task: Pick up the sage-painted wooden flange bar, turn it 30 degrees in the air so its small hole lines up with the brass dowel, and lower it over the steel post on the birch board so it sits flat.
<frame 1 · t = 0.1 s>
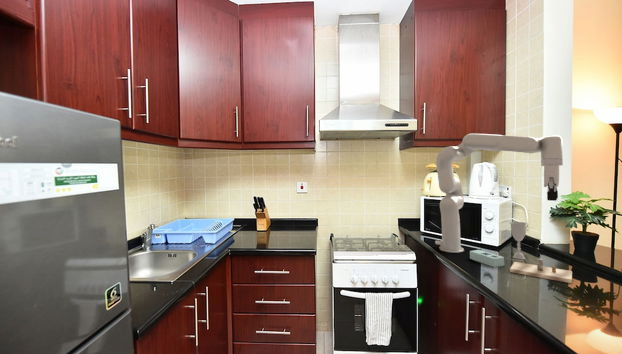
hand: (552, 199, 128), 31 cm above the worktop, tool pointing down, fingers open, 9 cm apart
flange bar: (486, 261, 137), on the worktop
chalice: (519, 258, 141), on the worktop
post board: (540, 273, 120), on the worktop
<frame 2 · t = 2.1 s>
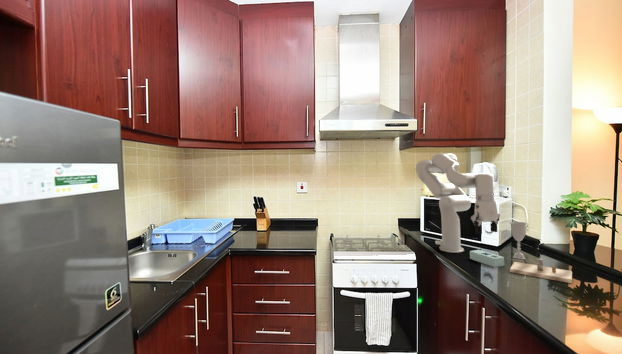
hand: (486, 232, 136), 15 cm above the worktop, tool pointing down, fingers open, 9 cm apart
nothing on the worktop moved.
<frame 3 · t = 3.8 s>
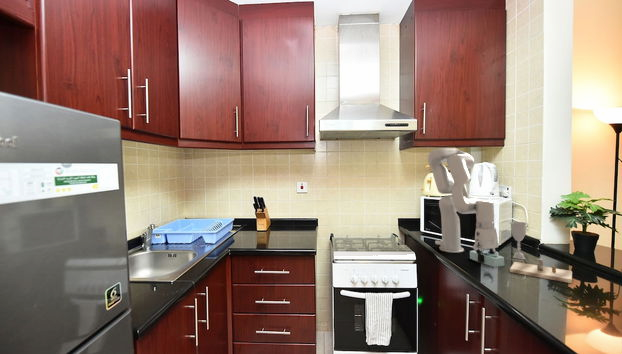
hand: (486, 260, 137), 1 cm above the worktop, tool pointing down, fingers closed on flange bar, 6 cm apart
flange bar: (486, 261, 137), on the worktop, touching gripper
everything else where it was.
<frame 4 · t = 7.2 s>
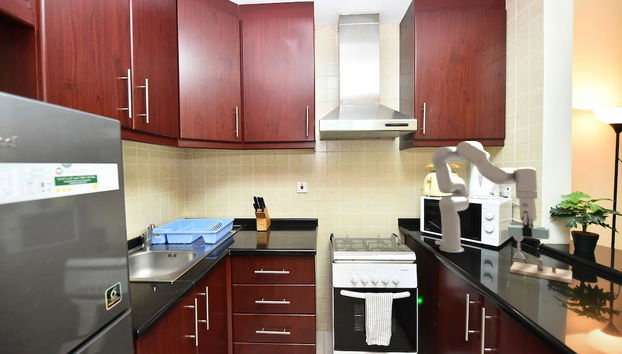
hand: (528, 234, 123), 16 cm above the worktop, tool pointing down, fingers closed on flange bar, 6 cm apart
flange bar: (528, 236, 123), point 16 cm above the worktop, touching gripper
everything else where it was.
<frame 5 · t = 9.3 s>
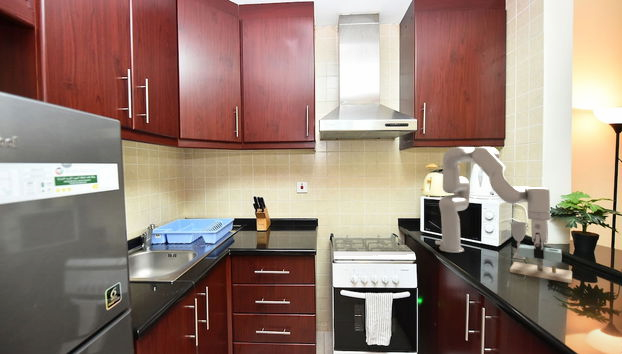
hand: (539, 256, 120), 7 cm above the worktop, tool pointing down, fingers closed on flange bar, 6 cm apart
flange bar: (539, 257, 120), point 7 cm above the worktop, touching gripper
everything else where it was.
when the fingers open (3 cm above the worktop, at t = 10.8 s): flange bar stays where it is, resting on post board.
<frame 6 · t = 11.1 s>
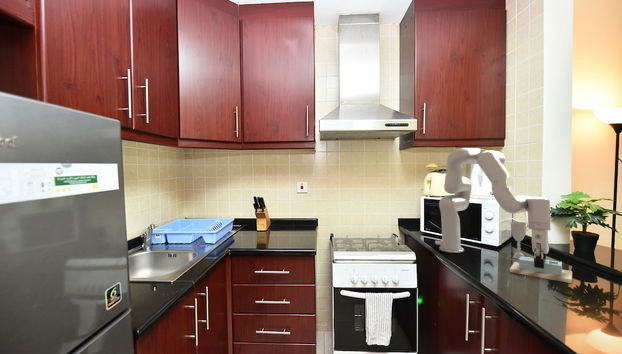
hand: (540, 264, 120), 4 cm above the worktop, tool pointing down, fingers open, 9 cm apart
flange bar: (540, 269, 120), point 1 cm above the worktop, touching post board
everything else where it was.
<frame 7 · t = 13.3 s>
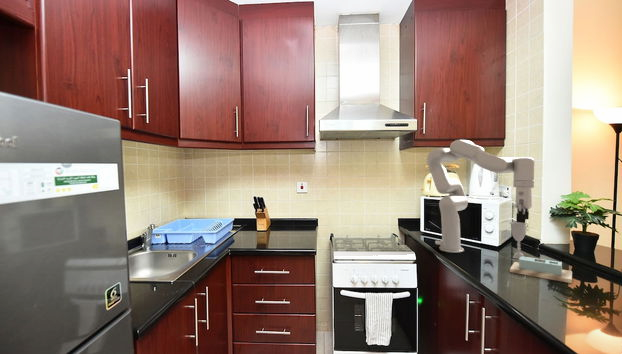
hand: (522, 220, 128), 22 cm above the worktop, tool pointing down, fingers open, 9 cm apart
nothing on the worktop moved.
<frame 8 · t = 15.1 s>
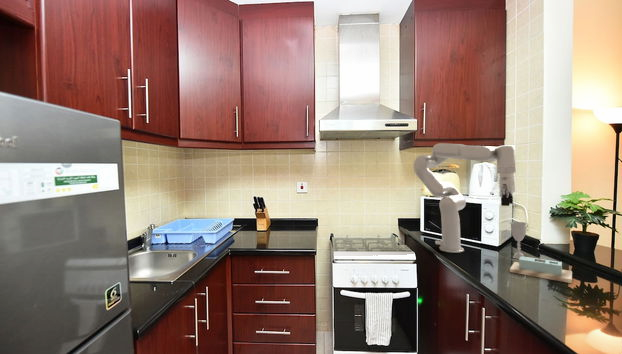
hand: (507, 204, 137), 28 cm above the worktop, tool pointing down, fingers open, 9 cm apart
nothing on the worktop moved.
at the end: flange bar 0.1 cm off-centre on the post board, point 1.5 cm above the post board's base; flange bar tilted 0°; the gripper is holding nothing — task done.
